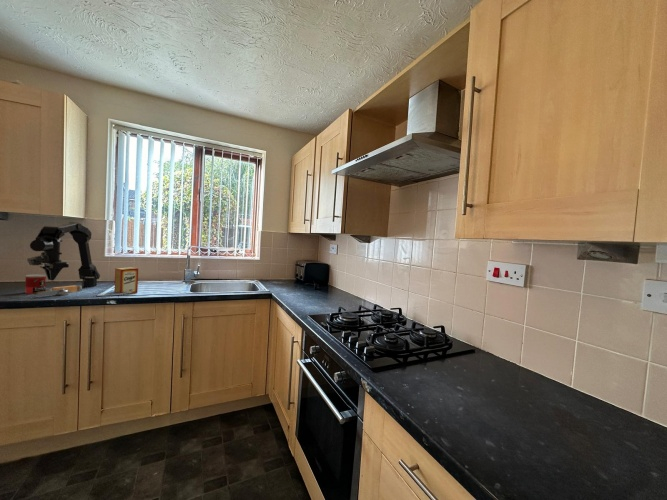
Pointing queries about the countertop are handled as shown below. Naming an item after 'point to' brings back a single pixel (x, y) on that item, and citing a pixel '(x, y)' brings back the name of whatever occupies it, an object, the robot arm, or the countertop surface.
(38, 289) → the canned food
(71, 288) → the orange rectangular bar
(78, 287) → the tool board
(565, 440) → the countertop surface
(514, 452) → the countertop surface
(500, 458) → the countertop surface
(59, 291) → the crank handle
